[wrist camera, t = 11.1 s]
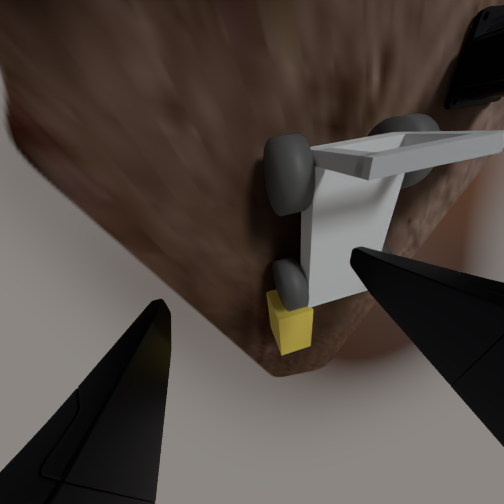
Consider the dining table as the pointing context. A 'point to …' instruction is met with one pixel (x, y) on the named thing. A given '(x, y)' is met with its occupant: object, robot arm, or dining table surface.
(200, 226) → the dining table surface
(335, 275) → the trolley
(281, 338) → the block
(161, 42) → the dining table surface
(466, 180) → the dining table surface
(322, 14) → the dining table surface
